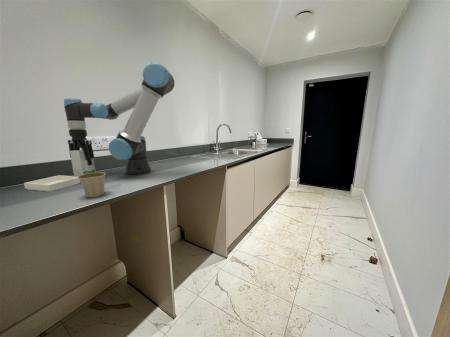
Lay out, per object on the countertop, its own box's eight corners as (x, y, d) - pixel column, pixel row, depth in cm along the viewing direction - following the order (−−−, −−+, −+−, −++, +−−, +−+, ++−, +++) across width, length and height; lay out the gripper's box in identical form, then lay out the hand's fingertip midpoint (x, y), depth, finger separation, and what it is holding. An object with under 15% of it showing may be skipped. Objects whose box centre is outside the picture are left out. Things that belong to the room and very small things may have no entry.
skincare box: (83, 179, 98) (78, 151, 95) (73, 178, 99) (68, 150, 96) (96, 175, 106) (92, 149, 103) (87, 175, 107) (83, 149, 104)
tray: (82, 182, 93) (81, 176, 92) (49, 191, 79) (48, 185, 78) (60, 180, 96) (59, 175, 95) (25, 189, 82) (23, 183, 81)
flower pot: (87, 201, 69) (83, 179, 67) (76, 196, 74) (73, 175, 72) (112, 193, 77) (110, 174, 75) (102, 189, 81) (99, 171, 80)
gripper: (55, 129, 95) (63, 171, 100) (85, 129, 91) (92, 173, 96) (70, 129, 103) (77, 168, 107) (98, 129, 98) (104, 170, 103)
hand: (84, 170), depth 102 cm, fingers closed on skincare box, 7 cm apart
